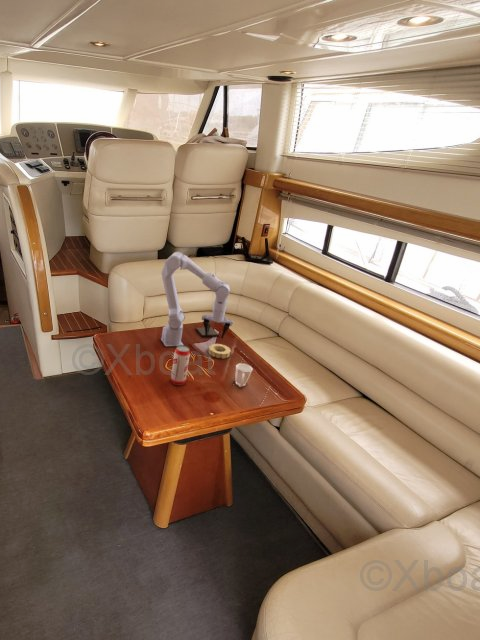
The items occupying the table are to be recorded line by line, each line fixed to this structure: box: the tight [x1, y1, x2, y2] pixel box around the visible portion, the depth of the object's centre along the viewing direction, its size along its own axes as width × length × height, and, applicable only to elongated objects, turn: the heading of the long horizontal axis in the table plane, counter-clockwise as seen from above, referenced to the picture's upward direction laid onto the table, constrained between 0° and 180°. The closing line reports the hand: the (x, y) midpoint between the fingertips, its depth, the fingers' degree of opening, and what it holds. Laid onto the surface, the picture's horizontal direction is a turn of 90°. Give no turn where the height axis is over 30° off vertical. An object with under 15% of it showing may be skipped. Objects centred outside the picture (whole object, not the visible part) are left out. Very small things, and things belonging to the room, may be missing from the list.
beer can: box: [170, 345, 191, 386], centre depth 157 cm, size 6×6×16 cm
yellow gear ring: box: [207, 343, 232, 359], centre depth 186 cm, size 10×10×2 cm
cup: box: [234, 363, 254, 388], centre depth 161 cm, size 7×10×8 cm
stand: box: [195, 322, 219, 338], centre depth 205 cm, size 9×9×6 cm
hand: (214, 336), depth 184 cm, fingers open, 7 cm apart
